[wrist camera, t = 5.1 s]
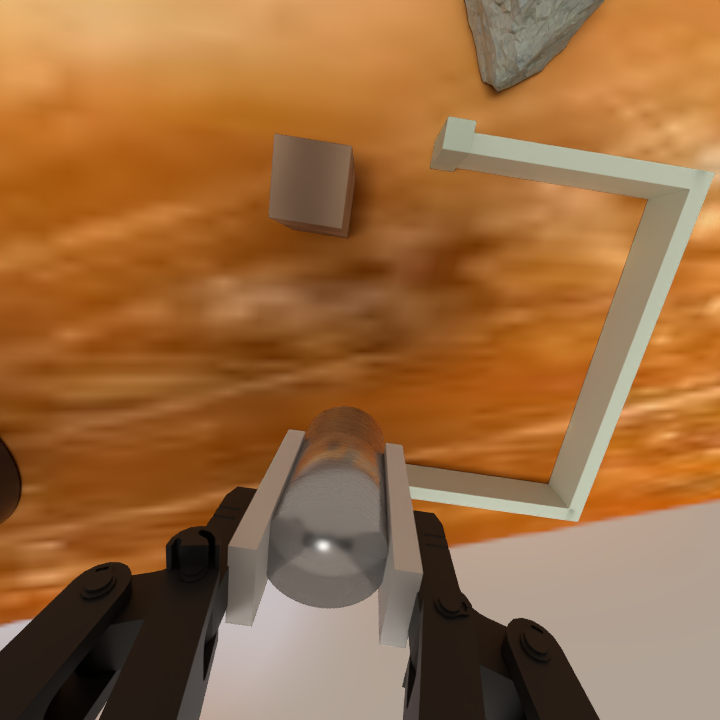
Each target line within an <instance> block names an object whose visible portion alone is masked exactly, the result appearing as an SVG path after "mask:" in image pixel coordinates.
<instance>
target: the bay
mask: <svg viewBox="0 0 720 720" xmlns="http://www.w3.org/2000/svg"><path fill="white" fill-rule="evenodd" d="M476 122H477V121H473V120H467V119H461V118H455V117H449V116H448V118H447V120H446V122H445V124H444V126H443V127H442V129H441V131H440V133H439V135H438V137H437V139H436V140H435V143H434V148H433V154H432V159H431V165H430V168H432V169H438V170H444V171H450V172H453V171H454V170H455V169H456V168H459V169H465V170H471V171H477V172H484V173H490V174H496V175H502V176H508V177H514V178H521V179H527V180H533V181H539V182H545V183H551V184H557V185H564V186H570V187H576V188H582V189H588V190H594V191H600V192H607V193H613V194H619V195H625V196H631V197H637V198H643V199H648V201H647V204H646V207H645V210H644V213H643V216H642V218H641V221H640V224H639V227H638V230H637V233H636V236H635V238H634V241H633V244H632V247H631V250H630V253H629V255H628V258H627V261H626V264H625V267H624V270H623V273H622V275H621V278H620V281H619V284H618V287H617V290H616V293H615V295H614V298H613V301H612V304H611V307H610V310H609V312H608V315H607V318H606V321H605V324H604V327H603V330H602V332H601V335H600V338H599V341H598V344H597V347H596V349H595V352H594V355H593V358H592V361H591V364H590V367H589V369H588V372H587V375H586V378H585V381H584V384H583V387H582V389H581V392H580V395H579V398H578V401H577V404H576V406H575V409H574V412H573V415H572V418H571V421H570V424H569V426H568V429H567V432H566V435H565V438H564V441H563V444H562V446H561V449H560V452H559V455H558V458H557V461H556V463H555V466H554V469H553V472H552V475H551V478H550V481H549V483H548V484H544V483H537V482H530V481H523V480H516V479H509V478H502V477H495V476H488V475H481V474H474V473H467V472H460V471H453V470H446V469H439V468H432V467H425V466H418V465H411V464H405V465H406V471H407V477H408V483H409V489H410V495H411V498H412V499H419V500H426V501H433V502H440V503H447V504H454V505H461V506H469V507H476V508H483V509H490V510H497V511H504V512H511V513H519V514H526V515H533V516H540V517H547V518H554V519H561V520H568V521H576V522H578V520H579V518H580V515H581V513H582V510H583V507H584V505H585V502H586V500H587V497H588V495H589V492H590V490H591V487H592V485H593V482H594V479H595V477H596V474H597V472H598V469H599V467H600V464H601V462H602V459H603V457H604V454H605V451H606V449H607V446H608V444H609V441H610V439H611V436H612V434H613V431H614V429H615V426H616V423H617V421H618V418H619V416H620V413H621V411H622V408H623V406H624V403H625V401H626V398H627V395H628V393H629V390H630V388H631V385H632V383H633V380H634V378H635V375H636V373H637V370H638V367H639V365H640V362H641V360H642V357H643V355H644V352H645V350H646V347H647V345H648V342H649V339H650V337H651V334H652V332H653V329H654V327H655V324H656V322H657V319H658V317H659V314H660V311H661V309H662V306H663V304H664V301H665V299H666V296H667V294H668V291H669V289H670V286H671V283H672V281H673V278H674V276H675V273H676V271H677V268H678V266H679V263H680V261H681V258H682V255H683V253H684V250H685V248H686V245H687V243H688V240H689V238H690V235H691V233H692V230H693V227H694V225H695V222H696V220H697V217H698V215H699V212H700V210H701V207H702V205H703V202H704V199H705V197H706V194H707V192H708V189H709V187H710V184H711V182H712V179H713V177H714V174H715V172H710V171H704V170H698V169H692V168H686V167H680V166H673V165H667V164H661V163H655V162H649V161H643V160H637V159H631V158H625V157H619V156H613V155H607V154H601V153H595V152H589V151H583V150H577V149H571V148H565V147H558V146H552V145H546V144H540V143H534V142H528V141H522V140H516V139H510V138H504V137H498V136H492V135H486V134H480V133H474V131H475V127H476Z"/></svg>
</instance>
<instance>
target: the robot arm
mask: <svg viewBox="0 0 720 720" xmlns="http://www.w3.org/2000/svg"><path fill="white" fill-rule="evenodd" d="M304 439H305V431H298V430H291V429H289V430H288V432H287V434H286V436H285V438H284V440H283V441H282V443H281V445H280V447H279V449H278V451H277V453H276V455H275V457H274V459H273V461H272V463H271V465H270V466H269V468H268V470H267V472H266V474H265V476H264V478H263V480H262V482H261V484H260V486H259V488H258V489H251V488H244V487H237V488H235V489H234V490H232V491H231V492H230V493H228V494H227V495H226V496H225V498H224V499H223V501H222V502H221V504H220V506H219V508H218V509H217V510H216V512H215V513H214V515H213V517H212V518H211V519H210V521H209V523H208V524H207V526H206V527H204V526H198V527H191V528H188V529H186V530H183V531H181V532H179V533H178V534H176V535H175V536H174V537H172V538H171V540H170V541H169V542H168V543H167V545H166V567H167V569H164V570H161V571H156V572H151V573H144V574H138V575H131V571H130V569H129V567H128V566H127V565H125V564H122V563H120V562H109V563H105V564H101V565H97V566H95V567H93V568H91V569H89V570H87V571H85V572H83V573H82V574H81V575H79V576H78V577H77V578H76V579H74V580H73V581H72V582H71V583H70V584H69V585H68V586H67V587H66V588H65V589H64V590H63V591H62V592H61V593H60V594H59V595H58V596H57V597H56V598H55V599H54V600H53V601H52V602H51V603H50V604H49V605H47V606H46V607H45V608H44V609H43V610H42V611H41V612H40V613H39V614H38V615H37V616H36V617H35V618H34V619H33V620H32V621H31V622H30V623H29V624H28V625H27V626H26V627H25V628H24V629H23V630H22V631H21V632H20V633H19V634H18V635H17V636H16V637H15V638H14V639H13V640H12V641H11V642H9V644H8V645H6V646H5V647H4V648H3V649H2V650H1V651H0V720H95V719H96V717H97V716H98V714H99V713H100V711H101V710H102V708H103V707H104V705H105V703H106V702H107V703H106V705H105V707H104V710H103V712H102V714H101V716H100V718H99V720H199V717H200V713H201V709H202V705H203V701H204V696H205V692H206V688H207V684H208V679H209V675H210V671H211V667H212V663H213V659H214V654H215V650H216V646H217V642H218V627H219V625H220V623H221V620H222V618H223V616H224V613H225V611H226V623H231V624H238V625H245V626H252V624H253V622H254V618H255V616H256V612H257V610H258V606H259V604H260V601H261V598H262V595H263V592H264V589H265V586H266V583H267V580H268V577H267V576H266V575H267V562H268V548H269V535H270V523H271V521H272V518H273V516H274V513H275V511H276V508H277V506H278V503H279V501H280V498H281V496H282V493H283V491H284V489H285V486H286V484H287V481H288V479H289V476H290V474H291V471H292V469H293V466H294V464H295V461H296V459H297V457H298V454H299V452H300V449H301V447H302V444H303V442H304ZM384 468H385V489H386V511H387V532H388V557H387V562H386V567H385V572H384V577H383V582H382V584H381V586H380V587H379V588H378V600H379V601H378V602H379V644H380V645H387V646H394V647H401V648H406V644H407V639H408V635H409V646H410V657H409V661H408V665H407V669H406V673H405V677H404V682H403V686H402V687H404V688H405V699H404V712H403V720H600V719H599V717H598V716H597V714H596V712H595V710H594V708H593V706H592V705H591V702H590V701H589V699H588V697H587V695H586V693H585V691H584V689H583V688H582V686H581V684H580V682H579V680H578V679H577V677H576V675H575V673H574V671H573V669H572V667H571V666H570V664H569V662H568V660H567V658H566V656H565V654H564V652H563V651H562V649H561V647H560V646H559V644H558V643H557V641H556V640H555V638H554V637H553V636H552V635H551V634H550V633H549V632H548V631H547V630H546V629H544V628H543V627H542V626H540V625H539V624H537V623H535V622H533V621H531V620H528V619H524V618H518V619H513V620H512V621H511V622H510V623H509V624H508V626H507V627H506V626H504V625H502V624H499V623H497V622H495V621H493V620H491V619H488V618H487V617H485V616H483V615H481V614H479V613H478V612H477V611H476V610H474V609H473V608H472V605H471V603H470V602H469V600H468V599H467V597H466V596H465V595H464V594H463V593H462V592H461V591H460V588H459V585H458V581H457V578H456V574H455V570H454V567H453V563H452V559H451V555H450V551H449V549H448V544H447V540H446V539H445V537H446V536H445V533H444V529H443V525H442V523H441V522H440V521H439V519H438V518H437V517H436V515H435V514H434V513H428V512H421V511H414V510H413V508H412V501H411V495H410V489H409V483H408V477H407V471H406V465H405V458H404V452H403V446H402V445H397V444H390V443H386V444H385V450H384ZM19 494H20V483H19V477H18V473H17V470H16V467H15V464H14V462H13V460H12V458H11V456H10V455H9V453H8V451H7V450H6V448H5V447H4V446H3V444H2V443H1V442H0V524H1V523H2V522H4V521H5V520H6V519H7V518H8V517H9V516H10V515H11V514H12V512H13V511H14V509H15V507H16V505H17V503H18V499H19Z"/></svg>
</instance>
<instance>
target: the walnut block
mask: <svg viewBox="0 0 720 720" xmlns="http://www.w3.org/2000/svg"><path fill="white" fill-rule="evenodd" d="M355 180H356V175H355V167H354V159H353V151H352V146H348V145H342V144H336V143H330V142H324V141H317V140H311V139H305V138H299V137H293V136H287V135H280V134H274V146H273V160H272V175H271V189H270V204H269V218H271V219H273V220H275V221H277V222H279V223H281V224H283V225H285V226H287V227H289V228H291V229H293V230H298V231H305V232H311V233H317V234H324V235H330V236H337V237H343V238H348V233H349V225H350V218H351V210H352V203H353V195H354V187H355Z"/></svg>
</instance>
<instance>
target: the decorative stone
mask: <svg viewBox="0 0 720 720" xmlns="http://www.w3.org/2000/svg"><path fill="white" fill-rule="evenodd" d="M464 1H465V3H466V8H467V15H468V22H469V26H470V28H471V30H472V32H473V38H474V42H475V45H476V49H477V58H478V64H479V69H480V73H481V77H482V79H483V82H486V83H488V84H490V85H492V86H493V87H494V88H495V89H496V90H497V91H498V92H499V91H501V90H503V89H507V88H509V87H511V86H513V85H515V84H517V83H519V82H521V81H522V80H524V79H526V78H528V77H530V76H531V75H534V74H536V73H538V72H541V71H542V69H543V68H544V67H545V66H546V65H547V64H548V62H549V61H550V60H551V59H552V58H553V57H554V56H556V55H557V54H558V53H559V52H561V51H562V50H563V49H564V48H565V47H566V46H567V44H568V42H569V40H570V39H571V37H572V36H573V35H574V34H575V33H576V32H577V31H578V29H579V28H580V27H581V26H582V24H583V23H584V22H585V21H586V20H587V19H588V18H589V17H590V16H591V14H592V13H593V12H594V11H595V10H596V9H597V8H598V7H599V6H600V5H601V4H602V3H603V2H604V0H464Z"/></svg>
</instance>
